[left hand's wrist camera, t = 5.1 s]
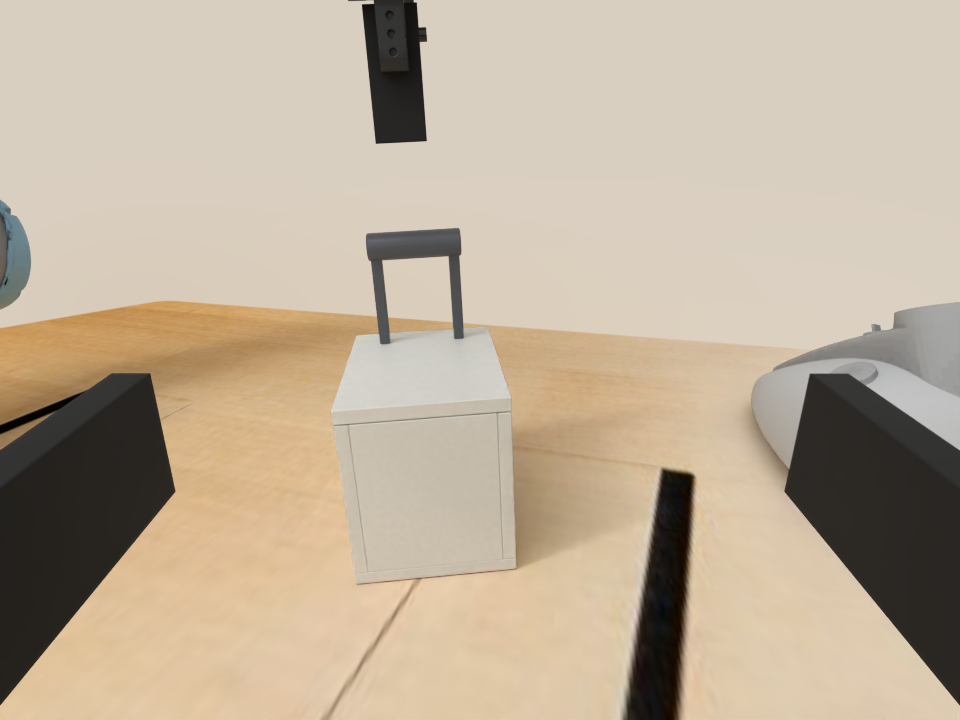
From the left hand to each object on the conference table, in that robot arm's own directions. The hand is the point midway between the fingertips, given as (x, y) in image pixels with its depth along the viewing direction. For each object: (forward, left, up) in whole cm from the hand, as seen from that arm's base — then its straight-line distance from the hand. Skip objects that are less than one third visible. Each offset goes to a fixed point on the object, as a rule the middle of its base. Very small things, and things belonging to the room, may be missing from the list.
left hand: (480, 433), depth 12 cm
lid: (+24, -11, -9) cm, 28 cm away
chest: (+24, -11, -20) cm, 33 cm away
